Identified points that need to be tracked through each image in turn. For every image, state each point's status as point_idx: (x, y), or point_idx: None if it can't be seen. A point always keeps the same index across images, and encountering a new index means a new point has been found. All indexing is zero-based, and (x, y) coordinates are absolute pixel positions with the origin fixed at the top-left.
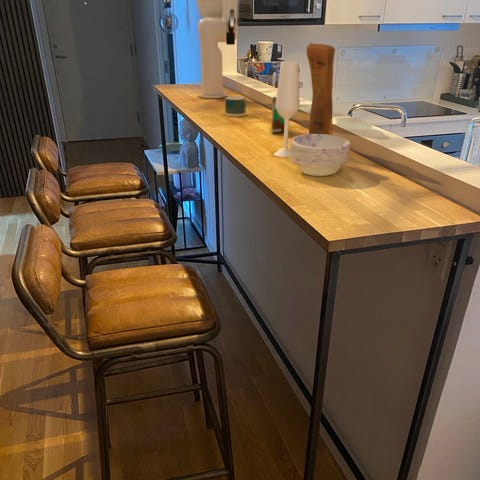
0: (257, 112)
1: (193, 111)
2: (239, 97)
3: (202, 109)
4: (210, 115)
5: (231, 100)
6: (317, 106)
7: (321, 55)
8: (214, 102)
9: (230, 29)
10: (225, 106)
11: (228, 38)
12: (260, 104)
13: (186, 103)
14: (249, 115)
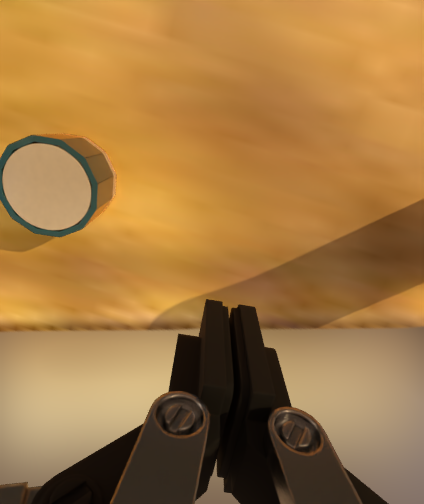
0: (106, 270)
1: (186, 5)
2: (61, 212)
3: (224, 67)
4: (73, 65)
5: (3, 156)
6: None
7: None
8: (371, 172)
9: (92, 473)
10: (48, 134)
11: (201, 354)
12: None
13: (406, 25)
14: None
